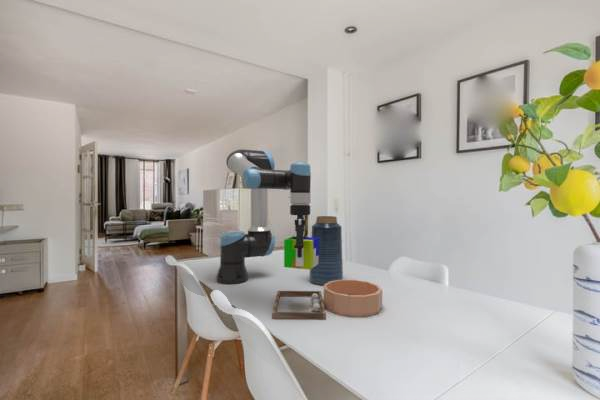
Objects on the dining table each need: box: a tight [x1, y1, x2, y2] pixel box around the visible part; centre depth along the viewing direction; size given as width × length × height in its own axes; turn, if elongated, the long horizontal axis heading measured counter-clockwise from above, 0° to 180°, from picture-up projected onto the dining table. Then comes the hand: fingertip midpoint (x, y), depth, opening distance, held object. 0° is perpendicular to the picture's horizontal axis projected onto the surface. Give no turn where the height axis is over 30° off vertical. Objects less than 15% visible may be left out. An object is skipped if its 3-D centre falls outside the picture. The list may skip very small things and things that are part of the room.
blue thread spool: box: [308, 215, 344, 286], centre depth 146 cm, size 16×16×32 cm
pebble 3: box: [311, 303, 321, 312], centre depth 107 cm, size 3×3×3 cm
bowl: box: [323, 279, 383, 318], centre depth 113 cm, size 21×21×7 cm
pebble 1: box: [310, 293, 319, 301], centre depth 118 cm, size 3×3×3 cm
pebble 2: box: [311, 299, 320, 306], centre depth 111 cm, size 3×3×3 cm
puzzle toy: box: [283, 235, 319, 271], centre depth 112 cm, size 10×10×10 cm
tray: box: [271, 290, 327, 320], centre depth 112 cm, size 24×18×2 cm
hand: (299, 262), depth 112 cm, fingers closed on puzzle toy, 12 cm apart
